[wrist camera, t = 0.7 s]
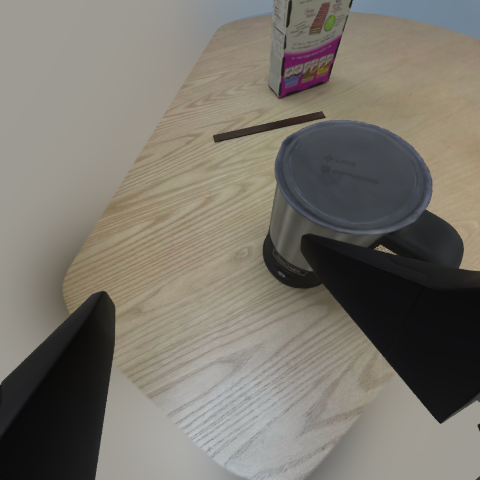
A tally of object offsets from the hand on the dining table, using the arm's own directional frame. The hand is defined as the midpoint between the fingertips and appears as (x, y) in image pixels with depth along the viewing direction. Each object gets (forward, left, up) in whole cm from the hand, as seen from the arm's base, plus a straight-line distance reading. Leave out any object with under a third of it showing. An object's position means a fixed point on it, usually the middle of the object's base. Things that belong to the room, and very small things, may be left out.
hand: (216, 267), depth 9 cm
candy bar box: (+37, -22, -16) cm, 46 cm away
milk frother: (+5, -13, -16) cm, 21 cm away
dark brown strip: (+27, -13, -16) cm, 34 cm away
